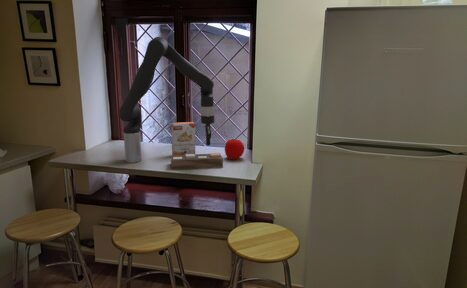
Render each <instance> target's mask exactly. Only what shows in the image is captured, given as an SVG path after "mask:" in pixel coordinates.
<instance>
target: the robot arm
mask: <svg viewBox="0 0 467 288" xmlns="http://www.w3.org/2000/svg"><path fill="white" fill-rule="evenodd" d="M162 57H164V58H165V59H167V60H168V61H170V62H171V63H172V64H173V65H174V67H176V69H177V70H178V71H179V72H180V73H181V74H182V75H183V76H184V77H186V78H187V79H188V80H189V81H191V82H193V83H195V84H196V86H198V87H199V90H200V123H201V124H202V125H203V124H204V126H203V129H204V134H205V140H206V141H205V144H206V146H210V145H211V138H212V130H213V128H212V125H211V124H215V105H214V103H215V101H214V96H213V95H214V94H213V93H214V92H213V89H214V86H215V85H214V83H215V82H214V81H213V80H212V79H211V78H210V77H209V76H207V75H206V74H204V73H203V72H202V71H200V70H199V69H198V68H197V67H195V66H194V65H193V64H192V63H191V62H189V61H188V60H187V59H186V58H184V57H183V56H182V55H181V54H180V53H178V51H177V50H176V49H175V48H174V47H173V46H172V45H171V44H170V43H169V42H168V41H167V40H166V39H165V38H163V37H162V36H156V37H154V38H152V39H151V40H150V41H149V42H148V44H147V46H146V49H145V54H144V57H143V60H142V62H141V64H140V65H139V68H138V70H137V72H136V74H135V76H134V79H133V81H132V84H131V86H130V88H129V90H128V92H127V94H126V97H125V99H124V100H123V101H122V104H121V106H120V108H119V111H118V116H119V119H120V120H121V121H123V122H128V123H127V124H126V125H125V126H124V127H123V132H122V133H123V141H124V142H123V143H124V159H125V160H124V161H125V163H131V164H132V163H133V164H134V163H140V162H141V161H142V160H143V159H142V143H141V128H142V110H141V108H140V106H139V105H138V104H137V103H139V101H140V100H142V98H143V97H144V96H145V95H146V94H147V93H148V92H149V90H150V89H151V86H152V84H153V81H154V78H155V72H156V68H157V66H158V64H159V63H160V60H162Z"/></svg>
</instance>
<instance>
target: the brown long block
mask: <svg viewBox="0 0 467 288" xmlns="http://www.w3.org/2000/svg"><path fill="white" fill-rule="evenodd" d="M218 153H219V152H218ZM219 155H220V157H213V158H211V157H210V153H200V154H199V153H197V154H196V153H195V158H187V159H186V155H172V154H171V155H170V169H171V170H183V169H184V170H185V169H187V168H188V169H189V170H190V169H206V168H207V169H208V168H224V164H223V163H224V158H223V156H222V155H221V153H219ZM198 156H207V158H198ZM173 157H182V159H173Z"/></svg>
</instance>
